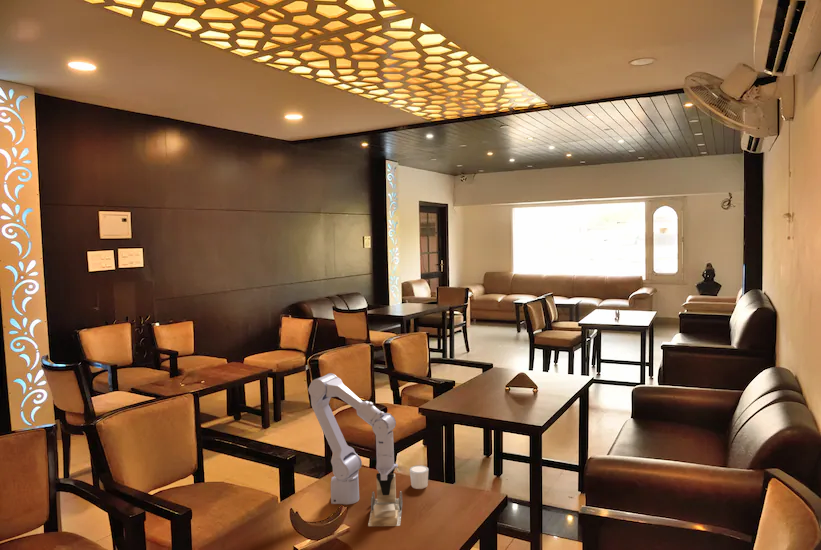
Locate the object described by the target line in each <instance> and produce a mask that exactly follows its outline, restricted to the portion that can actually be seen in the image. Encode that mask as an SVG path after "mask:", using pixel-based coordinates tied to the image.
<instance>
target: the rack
mask: <svg viewBox="0 0 821 550" xmlns="http://www.w3.org/2000/svg"><path fill="white" fill-rule="evenodd" d="M375 497H376V496H375V491H372V492H371V497H370V509H371V510H370V514H369V520H368V524H367V527H400V526H401V522H402V513H403V511H402V510H403V491H402V490H400V491H399V497H398V498H397V497H396V502H377V498H375ZM384 504H394V506H395V510H398V521H397V524H371V517H372V512H373V510H374V505H384Z"/></svg>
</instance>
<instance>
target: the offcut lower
mask: <svg viewBox="0 0 821 550" xmlns="http://www.w3.org/2000/svg"><path fill="white" fill-rule="evenodd" d="M395 513H396V516H395V517H385V518H375V515H374V510H373V512H372V517H371V524H397V521H398V510H395Z"/></svg>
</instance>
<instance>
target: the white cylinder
mask: <svg viewBox="0 0 821 550" xmlns="http://www.w3.org/2000/svg"><path fill="white" fill-rule="evenodd" d="M409 476H410V477H409V478H410V484H411V487H412V488H413V489H416V490H423V489H425V488H427V487H428V484H429V467H427V466H425V465H413V466H411V467H409Z"/></svg>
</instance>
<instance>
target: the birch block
mask: <svg viewBox="0 0 821 550" xmlns="http://www.w3.org/2000/svg"><path fill="white" fill-rule="evenodd" d="M393 474H394V477H393V479H392V482H391V486H390V493H389V495H383V494H382V490H381V486H380V483H379V481H378V479H377V477H376V476H375V477H376V499H377V502H396V498H397V490H396V489H397V487H396V473H393Z"/></svg>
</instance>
